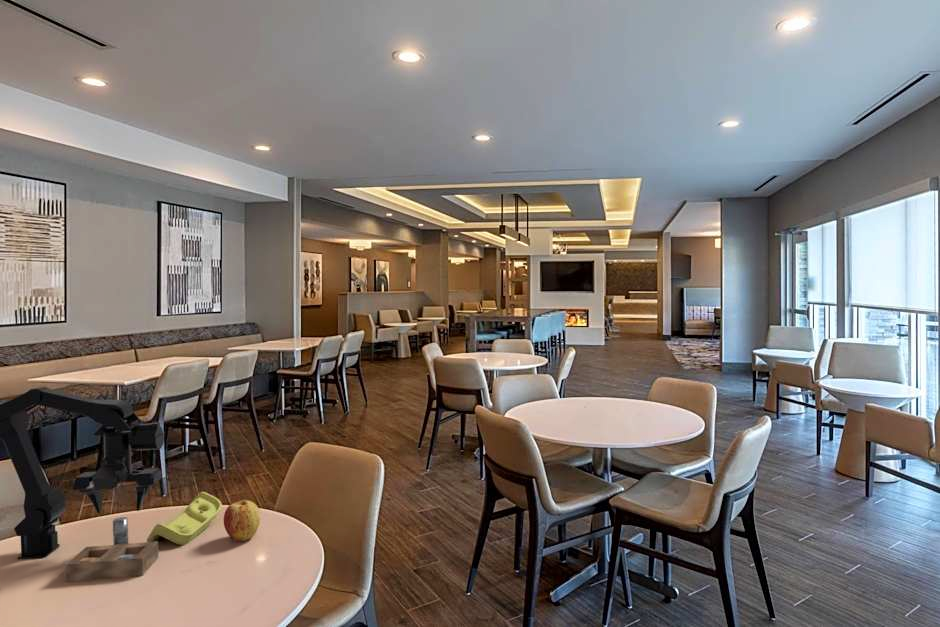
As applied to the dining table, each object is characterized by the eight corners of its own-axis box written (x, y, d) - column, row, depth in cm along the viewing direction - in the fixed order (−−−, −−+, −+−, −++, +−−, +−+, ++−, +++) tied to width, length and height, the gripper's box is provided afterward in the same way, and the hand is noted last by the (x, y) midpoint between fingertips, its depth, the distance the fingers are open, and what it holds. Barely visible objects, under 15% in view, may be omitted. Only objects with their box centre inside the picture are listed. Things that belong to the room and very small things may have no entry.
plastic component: (187, 538, 142) (153, 520, 143) (177, 562, 143) (143, 545, 144) (228, 503, 162) (198, 488, 162) (219, 525, 163) (189, 510, 163)
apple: (228, 533, 150) (227, 496, 150) (263, 529, 152) (262, 493, 152) (221, 547, 141) (220, 508, 141) (259, 543, 143) (257, 505, 143)
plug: (111, 549, 141) (110, 522, 141) (117, 544, 144) (116, 517, 144) (125, 548, 142) (124, 521, 142) (130, 543, 145) (129, 516, 145)
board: (65, 582, 125) (65, 563, 125) (86, 563, 134) (86, 545, 134) (142, 575, 128) (142, 556, 128) (158, 557, 137) (157, 540, 137)
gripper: (59, 462, 133) (61, 527, 133) (143, 458, 136) (145, 521, 136) (83, 449, 144) (85, 509, 144) (161, 446, 147) (163, 504, 147)
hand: (119, 511), depth 143 cm, fingers open, 9 cm apart
